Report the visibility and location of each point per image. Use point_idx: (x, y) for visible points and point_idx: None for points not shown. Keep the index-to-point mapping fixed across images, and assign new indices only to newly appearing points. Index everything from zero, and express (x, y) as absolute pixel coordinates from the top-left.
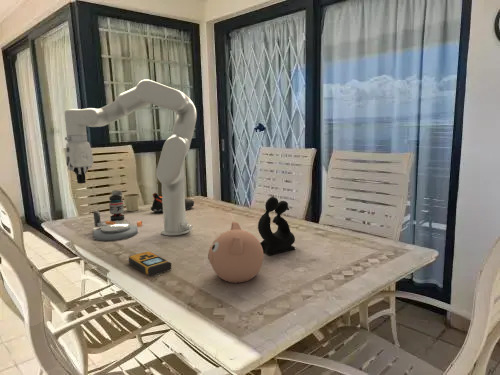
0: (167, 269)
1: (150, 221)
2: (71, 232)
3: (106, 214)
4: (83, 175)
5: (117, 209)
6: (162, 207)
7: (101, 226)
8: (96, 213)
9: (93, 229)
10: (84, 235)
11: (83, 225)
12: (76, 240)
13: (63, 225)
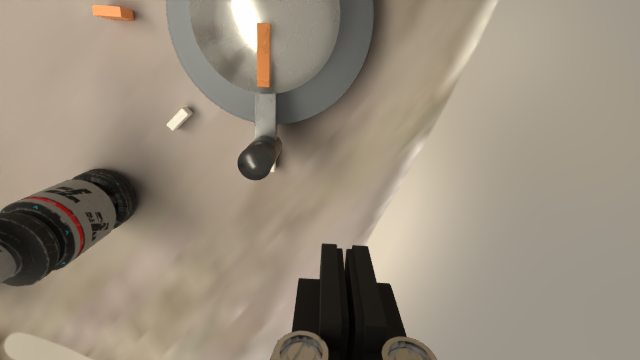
0: None
1: (32, 21)
2: (322, 232)
3: (72, 308)
4: (346, 308)
5: (82, 194)
6: None
7: (326, 55)
8: (266, 152)
9: (274, 167)
10: (336, 151)
11: (233, 266)
12: (400, 126)
13: (264, 330)
